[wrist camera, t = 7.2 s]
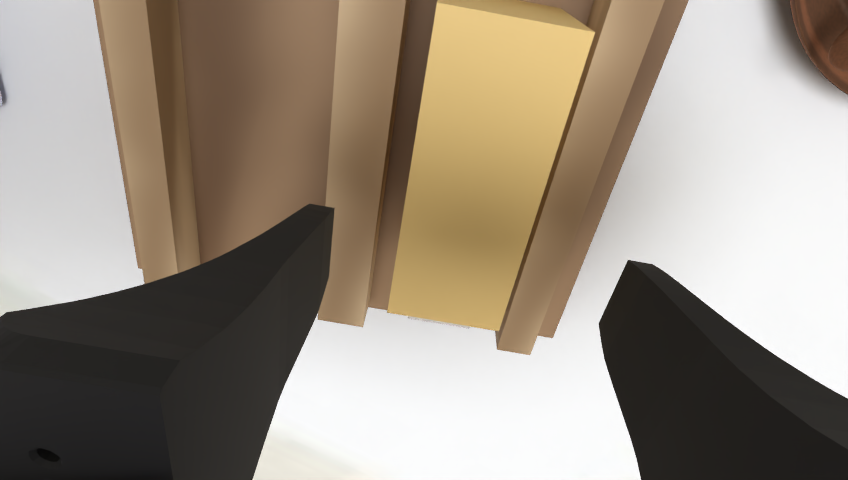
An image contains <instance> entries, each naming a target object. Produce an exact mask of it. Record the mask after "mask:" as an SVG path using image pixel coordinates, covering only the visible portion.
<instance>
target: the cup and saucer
mask: <svg viewBox="0 0 848 480" xmlns="http://www.w3.org/2000/svg"><path fill="white" fill-rule="evenodd" d="M790 6H791V11H792V16H793V21H794V25H795V28H796V31H797V34H798V37H799V39H800V41H801V43H802V45H803V47H804V49H805V51H806V53H807V55H808V56H809V58H810V59H811V61H812V62H813V64H814V65H815V66H816V67H817V68H818V70H819V71H820V72H821V73H822V74H823V75H824V76H825V77H826V78H827V79H828V80H829V81H830V82H831V83H833V84H834V85H835V86H836V87H837V88H839V89H840V90H841V91H843V92H845V93H846V94H848V0H790Z"/></svg>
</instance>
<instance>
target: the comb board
mask: <svg viewBox="0 0 848 480" xmlns="http://www.w3.org/2000/svg"><path fill="white" fill-rule="evenodd" d="M437 1H438V0H93V2H94V8H95V14H96V20H97V26H98V32H99V38H100V44H101V50H102V55H103V61H104V67H105V73H106V79H107V85H108V91H109V97H110V103H111V109H112V115H113V121H114V127H115V133H116V139H117V145H118V151H119V157H120V163H121V169H122V175H123V181H124V187H125V192H126V198H127V204H128V210H129V216H130V222H131V228H132V234H133V240H134V246H135V252H136V258H137V264H138V268H141V269H142V270H143V276H144V282H145V284H146V283H150V282H153V281H156V280H159V279H162V278H165V277H168V276H171V275H174V274H177V273H180V272H183V271H185V270H188V269H191V268H193V267H196V266H198V265H200V264H203V263H205V262H208V261H210V260H212V259H214V258H217V257H219V256H221V255H223V254H225V253H227V252H229V251H231V250H233V249H235V248H237V247H238V246H240V245H242V244H244V243H246V242H248V241H250V240H251V239H253V238H255V237H257V236H259V235H260V234H262V233H264V232H265V231H267V230H269V229H270V228H272V227H273V226H275V225H277V224H278V223H280V222H281V221H283V220H284V219H286V218H288V217H289V216H291V215H292V214H294V213H295V212H297V211H298V210H300V209H301V208H303V207H304V206H306V205H308V204H315V205H321V206H326V207H332V208H335V210H334V222H333V234H332V247H331V259H330V271H329V279H328V282H327V285H326V289H325V292H324V295H323V299H322V302H321V305H320V308H319V311H318V320H324V321H330V322H336V323H342V324H348V325H354V326H360V327H363V325H364V321H365V317H366V313H367V309H368V307H372V308H378V309H384V310H388V304H389V298H390V291H391V285H392V279H393V273H394V267H395V260H396V254H397V248H398V242H399V235H400V229H401V223H402V217H403V211H404V204H405V198H406V192H407V186H408V179H409V173H410V167H411V161H412V155H413V148H414V142H415V136H416V130H417V124H418V117H419V111H420V105H421V99H422V92H423V86H424V80H425V74H426V68H427V61H428V55H429V49H430V43H431V36H432V30H433V24H434V18H435V12H436V5H437ZM520 1H525V2H530V3H536V4H541V5H546V6H551V7H557V8H561V9H562V10H564V11H565V12H567V13H568V14H570V15H571V16H573V17H574V18H575V19H577V20H578V21H580V22H581V23H583V24H584V25H586V26H587V27H588V28H590V29H591V30H593V31H594V32H595V34H594V37H593V41H592V44H591V47H590V50H589V53H588V56H587V59H586V62H585V65H584V69H583V72H582V75H581V78H580V81H579V84H578V87H577V90H576V93H575V97H574V100H573V103H572V106H571V109H570V112H569V115H568V118H567V121H566V124H565V128H564V131H563V134H562V137H561V140H560V143H559V146H558V149H557V152H556V156H555V159H554V162H553V165H552V168H551V171H550V174H549V177H548V180H547V183H546V187H545V190H544V193H543V196H542V199H541V202H540V205H539V208H538V211H537V215H536V218H535V221H534V224H533V227H532V230H531V233H530V236H529V239H528V243H527V246H526V249H525V252H524V255H523V258H522V261H521V264H520V267H519V270H518V274H517V277H516V280H515V283H514V286H513V289H512V292H511V295H510V298H509V302H508V305H507V308H506V311H505V314H504V317H503V320H502V323H501V326H500V330H499V331H495V333H496V344H497V350H503V351H509V352H515V353H521V354H527V355H530V354H531V351H532V349H533V346H534V343H535V341H536V338H537V336H544V337H550V338H553V336H554V333H555V331H556V328H557V326H558V324H559V321H560V319H561V316H562V314H563V311H564V309H565V306H566V304H567V301H568V299H569V296H570V294H571V291H572V289H573V286H574V284H575V281H576V279H577V276H578V274H579V271H580V269H581V266H582V264H583V261H584V259H585V256H586V254H587V251H588V249H589V246H590V244H591V242H592V239H593V237H594V234H595V232H596V229H597V227H598V224H599V222H600V219H601V217H602V214H603V212H604V209H605V207H606V204H607V202H608V199H609V197H610V194H611V192H612V189H613V187H614V184H615V182H616V179H617V177H618V174H619V172H620V169H621V167H622V164H623V162H624V160H625V157H626V155H627V152H628V150H629V147H630V145H631V142H632V140H633V137H634V135H635V132H636V130H637V127H638V125H639V122H640V120H641V117H642V115H643V112H644V110H645V107H646V105H647V102H648V100H649V97H650V95H651V92H652V90H653V87H654V85H655V82H656V80H657V78H658V75H659V73H660V70H661V68H662V65H663V63H664V60H665V58H666V55H667V53H668V50H669V48H670V45H671V43H672V40H673V38H674V35H675V33H676V30H677V28H678V25H679V23H680V20H681V18H682V15H683V13H684V10H685V8H686V5H687V3H688V0H520Z"/></svg>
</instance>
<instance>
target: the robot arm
mask: <svg viewBox="0 0 848 480" xmlns="http://www.w3.org/2000/svg"><path fill="white" fill-rule="evenodd" d="M1 105H2V96H1V92H0V106H1ZM334 210H335V208H332V207H326V206H321V205H315V204H308V205H306V206H304V207H303V208H301V209H300V210H298V211H297V212H295V213H294V214H292V215H291V216H289V217H288V218H286V219H284V220H283V221H281V222H280V223H278V224H277V225H275V226H273V227H272V228H270V229H269V230H267V231H265V232H264V233H262V234H260V235H259V236H257V237H255V238H253V239H251V240H250V241H248V242H246V243H244V244H242V245H240V246H238V247H237V248H235V249H233V250H231V251H229V252H227V253H225V254H223V255H221V256H219V257H217V258H214V259H212V260H210V261H208V262H205V263H203V264H200V265H198V266H196V267H193V268H191V269H188V270H185V271H183V272H180V273H177V274H174V275H171V276H168V277H165V278H162V279H159V280H156V281H153V282H150V283H146V284H143V285H140V286H137V287H133V288H129V289H125V290H122V291H118V292H114V293H110V294H105V295H101V296H97V297H92V298H88V299H83V300H78V301H73V302H68V303H62V304H56V305H50V306H44V307H38V308H32V309H26V310H20V311H13V312H6V313H5V314H4V315H2V316H1V317H0V480H252V479H253V476H254V473H255V470H256V467H257V464H258V460H259V457H260V454H261V451H262V448H263V445H264V442H265V439H266V436H267V433H268V430H269V427H270V424H271V421H272V418H273V415H274V412H275V409H276V406H277V403H278V400H279V398H280V395H281V393H282V390H283V388H284V385H285V383H286V381H287V379H288V377H289V374H290V372H291V370H292V368H293V366H294V364H295V361H296V359H297V357H298V355H299V353H300V351H301V348H302V346H303V344H304V342H305V340H306V338H307V335H308V333H309V331H310V329H311V327H312V325H313V322H314V320H315V318H316V316H317V313H318V311H319V308H320V305H321V302H322V299H323V295H324V292H325V289H326V285H327V282H328V279H329V271H330V259H331V247H332V234H333V222H334ZM599 329H600V336H601V343H602V348H603V353H604V359H605V362H606V365H607V369H608V372H609V375H610V378H611V381H612V384H613V387H614V390H615V393H616V396H617V399H618V402H619V405H620V408H621V411H622V414H623V417H624V420H625V423H626V426H627V429H628V432H629V435H630V438H631V441H632V444H633V448H634V451H635V455H636V458H637V462H638V467H639V471H640V476H641V480H848V399H847V398H845V397H843V396H842V395H840V394H838V393H836V392H834V391H833V390H831V389H829V388H827V387H826V386H824V385H822V384H820V383H819V382H817V381H815V380H814V379H812V378H810V377H809V376H807V375H806V374H804V373H802V372H801V371H799V370H798V369H796V368H794V367H793V366H791V365H790V364H788V363H787V362H785V361H783V360H782V359H780V358H779V357H777V356H776V355H774V354H773V353H771V352H770V351H768V350H767V349H765V348H764V347H763V346H761V345H760V344H758V343H757V342H756V341H754V340H753V339H751V338H750V337H749V336H747V335H746V334H744V333H743V332H742V331H740V330H739V329H738V328H736V327H735V326H734V325H732V324H731V323H730V322H728V321H727V320H726V319H724V318H723V317H722V316H721V315H719V314H718V313H717V312H715V311H714V310H713V309H712V308H710V307H709V306H708V305H706V304H705V303H704V302H703V301H701V300H700V299H699V298H698V297H696V296H695V295H694V294H693V293H691V292H690V291H689V290H688V289H686V288H685V287H684V286H682V285H681V284H680V283H679V282H677V281H676V280H675V279H673V278H672V277H671V276H669V275H668V274H667V273H665V272H664V271H662V270H661V269H659V268H658V267H656V266H654V265H653V264H648V263H642V262H636V261H631V260H628V261H627V264H626V266H625V268H624V270H623V272H622V274H621V277H620V279H619V281H618V283H617V285H616V287H615V290H614V292H613V294H612V296H611V298H610V300H609V302H608V305H607V307H606V309H605V311H604V313H603V315H602V318H601V320H600V322H599Z"/></svg>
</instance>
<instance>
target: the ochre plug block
mask: <svg viewBox="0 0 848 480" xmlns="http://www.w3.org/2000/svg"><path fill="white" fill-rule="evenodd" d="M594 34H595V32H594V31H593V30H591V29H590V28H588V27H587V26H586V25H584V24H583V23H581V22H580V21H578V20H577V19H575V18H574V17H573V16H571V15H570V14H568V13H567V12H565V11H564V10H562V9H561V8H557V7H551V6H546V5H541V4H536V3H530V2H525V1H520V0H438V1H437V5H436V12H435V18H434V24H433V30H432V36H431V43H430V49H429V55H428V61H427V68H426V74H425V80H424V86H423V92H422V99H421V105H420V111H419V117H418V124H417V130H416V136H415V142H414V148H413V155H412V161H411V167H410V173H409V179H408V186H407V192H406V198H405V204H404V211H403V217H402V223H401V229H400V235H399V242H398V248H397V254H396V260H395V267H394V273H393V279H392V285H391V291H390V298H389V304H388V310H387V313H393V314H399V315H405V316H408V318H411V319H417V320H423V321H429V322H435V323H440V324H446V325H452V326H458V327H464V328H469V327H470V326H471V327H477V328H483V329H489V330H495V331H499V330H500V326H501V323H502V320H503V317H504V314H505V311H506V308H507V305H508V302H509V298H510V295H511V292H512V289H513V286H514V283H515V280H516V277H517V274H518V270H519V267H520V264H521V261H522V258H523V255H524V252H525V249H526V246H527V243H528V239H529V236H530V233H531V230H532V227H533V224H534V221H535V218H536V215H537V211H538V208H539V205H540V202H541V199H542V196H543V193H544V190H545V187H546V183H547V180H548V177H549V174H550V171H551V168H552V165H553V162H554V159H555V156H556V152H557V149H558V146H559V143H560V140H561V137H562V134H563V131H564V128H565V124H566V121H567V118H568V115H569V112H570V109H571V106H572V103H573V100H574V97H575V93H576V90H577V87H578V84H579V81H580V78H581V75H582V72H583V69H584V65H585V62H586V59H587V56H588V53H589V50H590V47H591V44H592V41H593V37H594Z"/></svg>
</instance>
